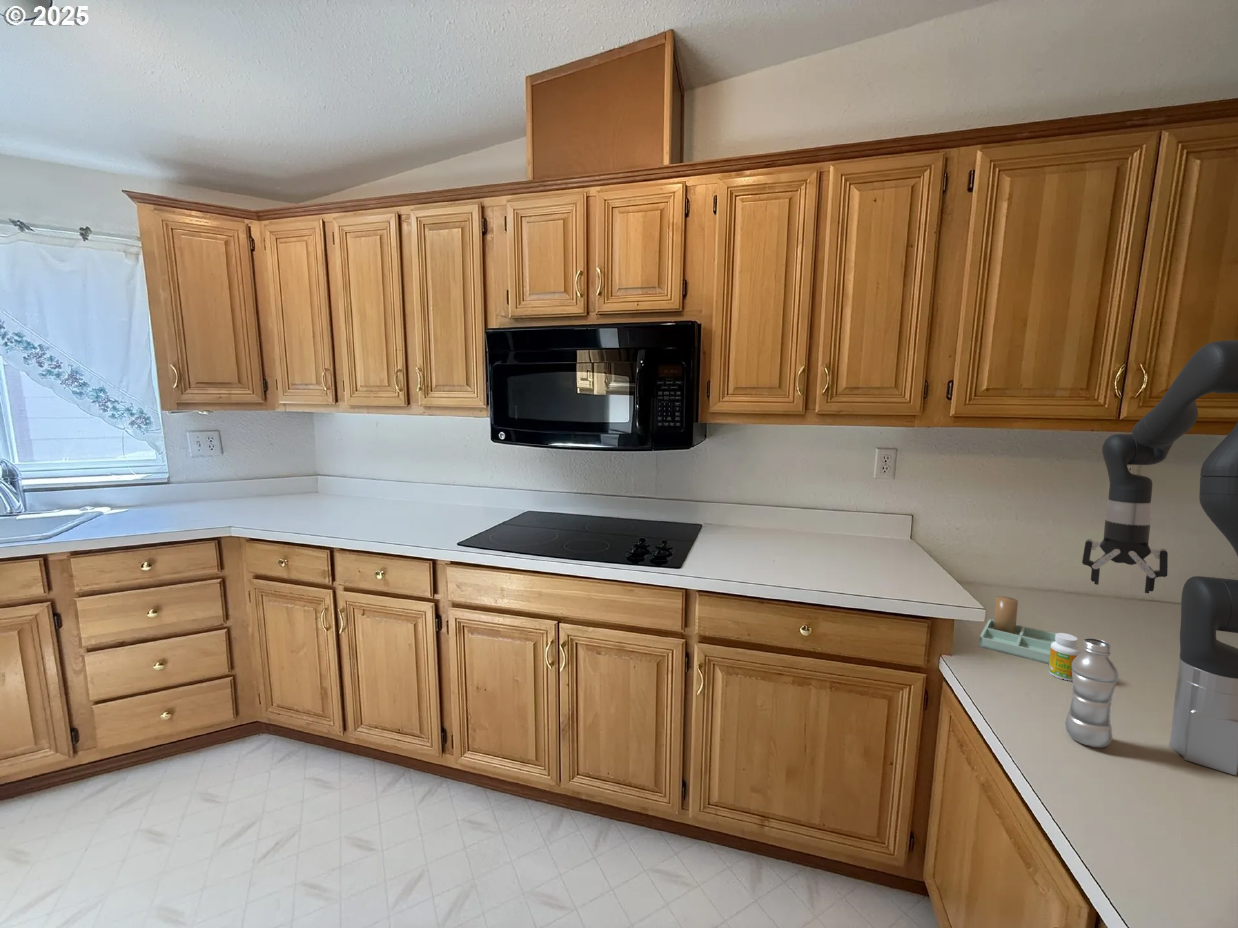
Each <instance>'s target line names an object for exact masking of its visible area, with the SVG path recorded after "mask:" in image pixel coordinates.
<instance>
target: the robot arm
mask: <svg viewBox="0 0 1238 928" xmlns="http://www.w3.org/2000/svg"><path fill="white" fill-rule="evenodd" d="M1210 393H1215V394H1238V339H1237V340H1236V339H1235V340H1233V339H1230V340H1218V341H1213V342H1209V343H1207V344H1205V345H1203V346H1201V347H1200V348H1199V349H1197V350H1196V352H1195V353H1194V354H1192V356H1191V357H1190V358H1189V360H1188V361H1187V362H1186V363H1185V365H1184V366H1183V367H1182V369H1181V370H1180V372H1179V373H1178V375H1177V376H1176V378H1175V379H1174V380H1173V382H1172V383H1171V385H1170V386H1169V388H1168V389H1167V390H1166V392H1165V394H1164V395H1163V397H1162V398H1161V399H1160V401H1158V403H1157V404H1156V405H1155V406H1154V407H1153V408H1152V409H1150V411H1148V413H1146V414H1145V415H1144V416H1143V417H1142V418H1141V419H1140V420H1138V421H1137V423H1135V425H1134V426H1133V428H1132V430H1131V431H1132V433H1116V434H1112V435H1110V436H1108V437H1107V438H1106V439H1104V442H1103V443H1102V448H1101V451H1102V457H1103V460H1104V463H1105V466H1106V470H1107V475H1108V479H1109V481H1108V482H1109V486H1108V487H1109V489H1108V501H1107V503H1106V504H1107V505H1106V507H1105V508H1106V509H1105V515H1104V516H1105V518H1104V529H1103V538H1102V539H1103V540H1102V541H1095V540H1092V539H1091V538H1090V539H1086V541H1085V543H1084V549H1083V555H1082V561H1081V563H1082V565H1085V566H1088V567H1090V569H1091V571H1090V572H1091V573H1090V574H1091V575H1090V581H1091V582H1094V583H1093V584H1094V585H1097V586H1099V583H1100V572H1101V567H1102V566H1104V565H1106V564H1107V563H1109V561H1111V562H1113V563H1117V564H1127V565H1130V566H1133V565H1138V567H1140V569H1141V570H1142V571H1143V572H1144V573H1145V574H1146V575H1145V584H1144V585H1145V586H1144V593H1145V594H1150V592H1154V590H1155V581H1156V579H1157V578H1166V577H1167V576H1168V567H1169V566H1168V565H1169V564H1168V559H1169V557H1168V550H1167V549H1166V548H1160V549H1159V548H1158V549H1157V548H1151V547H1150V545H1149V543H1150V531H1151V523H1152V504H1151V502H1152V495H1153V494H1152V493H1153V492H1152V491H1153V481H1152V479H1151V478H1150V477H1148V476H1144V475H1140V474H1134V473H1131V472H1130V470H1129V468H1128V465H1133V466H1152V465H1156V464H1159V463H1161V462H1163V461H1164V460H1165V459H1166V458H1167V456H1168V454H1169V451H1171V450H1170V449H1171V448H1172V446H1173V445H1174V443H1175V441H1177V440H1179V438H1181V437H1182V436H1184V435H1185V434H1187V432H1189V431H1190V430H1191V429H1192V428H1193V427H1194V425H1195V424H1196V422H1197V420H1198V417H1199V411H1198V405H1197V403H1196V401H1197V400H1198V399H1200V398H1202V397H1203V396H1206V395H1207V394H1210ZM1199 477H1200V478H1199V495H1198V497H1199V504H1200V505H1201V509H1202V510H1203V511H1204V513H1205V515H1206V516H1207V517H1208V518H1209V520H1210V521H1211V522H1212V523H1213V525H1215V527H1216V528H1217V529H1218V530H1219V531H1220V532H1221V534H1222V535H1223V536H1224V537H1225V538H1226V539H1227V541H1228V542H1229V544H1230V545H1231V546H1232V548H1233V550H1234V552H1235V553H1236V556H1237V557H1238V421H1237V422H1236V424H1235V426H1234V427H1233V429H1232V430H1231V431H1230V432H1229V433H1228V434H1227V436H1226V437H1225V438H1224V439H1223V440H1222V441H1220V443H1218V445H1216V447H1215V448H1214V449H1213V450H1212V451H1211V453H1210V454H1208V455H1207V457H1206V458H1205V460H1204V461H1203V463H1202V465H1201V468H1200V475H1199ZM1097 548H1100V549H1101V550H1102V551H1103V552H1104V554H1102V555H1100V557H1099V558H1098V559H1096V560H1095V561H1094V560H1091V554H1092V551H1095V550H1097ZM1151 554H1152V555H1154V556H1153V557H1154V558H1155V559H1157V560H1159V565H1158V566H1159V569H1156V570H1154V569H1153V568H1152V566H1150V564H1149V563H1148V562H1147V561H1146V558H1147V557H1148V556H1149V555H1151ZM1180 601H1181V602H1180V629H1179V630H1180V631H1179V648H1180V649H1179V650H1180V652H1179V659H1178V660H1179V661H1178V667H1177V668H1178V670H1177V678H1176V686H1175V695H1174V702H1173V703H1174V704H1173V709H1172V710H1173V712H1172V720H1171V731H1170V739H1169V740H1170V741H1169V745H1170V747H1171V748H1172V749H1173V750H1174V751H1175V752H1177V753H1178V754H1179V755H1181V756H1182V757H1183V760H1185V761H1188V762H1190V763H1194V764H1197V765H1200V766H1202V767H1203V766H1204V767H1208V768H1210V769H1213V770H1216V771H1219V772H1223V773H1226V774H1229V775H1232V776H1237V775H1238V648H1237V647H1234V646H1233V645H1229V644H1227V643H1225V642H1222V641H1220V640H1218V639H1217V631H1219V632H1226V633H1232V634H1233V633H1234V634H1238V579H1231V578H1221V577H1211V576H1210V577H1209V576H1201V575H1195V576H1191V577H1189V578H1187V580H1186V582H1185V583H1184V585H1183V587H1182V590H1181V600H1180Z"/></svg>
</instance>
